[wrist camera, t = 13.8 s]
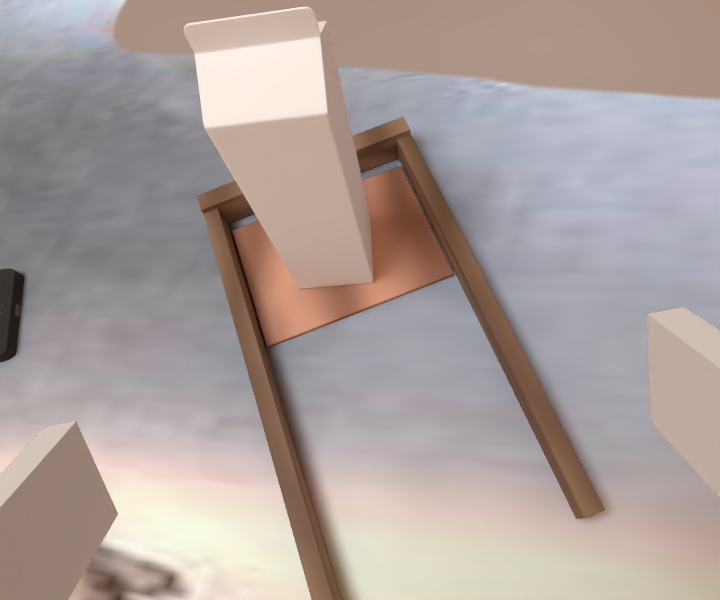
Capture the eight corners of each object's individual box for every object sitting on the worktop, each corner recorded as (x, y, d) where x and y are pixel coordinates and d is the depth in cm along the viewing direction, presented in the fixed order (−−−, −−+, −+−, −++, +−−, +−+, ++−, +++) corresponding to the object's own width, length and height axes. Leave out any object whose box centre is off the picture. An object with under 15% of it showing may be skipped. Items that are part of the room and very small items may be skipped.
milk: (374, 283, 42) (315, 61, 22) (297, 290, 43) (172, 79, 23) (370, 215, 45) (315, -42, 24) (298, 222, 45) (185, -22, 25)
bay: (405, 140, 47) (403, 116, 45) (593, 511, 34) (607, 509, 32) (211, 215, 47) (197, 195, 44) (326, 617, 34) (316, 625, 31)
